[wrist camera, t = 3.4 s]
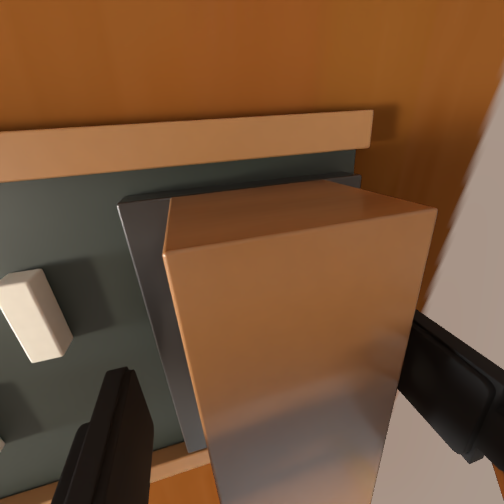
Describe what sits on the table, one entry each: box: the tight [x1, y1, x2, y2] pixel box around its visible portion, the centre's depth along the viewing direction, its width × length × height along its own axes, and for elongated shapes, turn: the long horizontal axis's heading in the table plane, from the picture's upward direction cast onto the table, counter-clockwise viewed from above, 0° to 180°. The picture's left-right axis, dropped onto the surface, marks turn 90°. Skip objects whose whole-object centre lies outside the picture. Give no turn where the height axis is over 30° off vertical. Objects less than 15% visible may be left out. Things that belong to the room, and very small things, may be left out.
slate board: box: [0, 110, 374, 504], centre depth 10 cm, size 16×26×1 cm, turn 95°
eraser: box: [117, 171, 438, 504], centre depth 9 cm, size 12×8×6 cm, turn 5°
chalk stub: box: [0, 269, 73, 363], centre depth 9 cm, size 3×1×1 cm, turn 5°
